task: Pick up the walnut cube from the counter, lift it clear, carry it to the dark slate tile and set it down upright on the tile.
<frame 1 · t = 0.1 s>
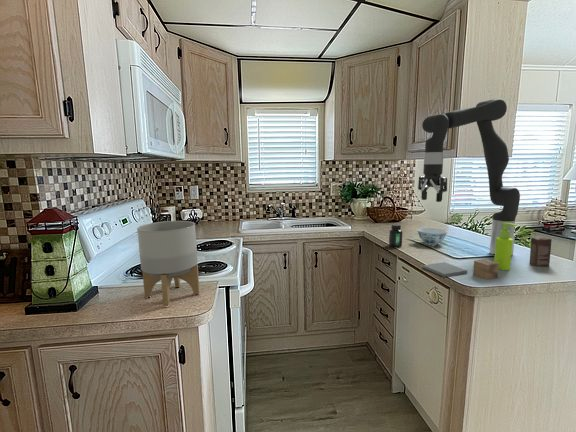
hand: (431, 200, 138), 29 cm above the countertop, fingers open, 8 cm apart
box: (538, 265, 140), on the countertop
walnut cube: (485, 276, 128), on the countertop
slate tile: (444, 270, 135), on the countertop
planter: (172, 296, 114), on the countertop
soap dispenser: (502, 268, 136), on the countertop
supplement bottle: (395, 246, 175), on the countertop
chinaware: (431, 244, 179), on the countertop
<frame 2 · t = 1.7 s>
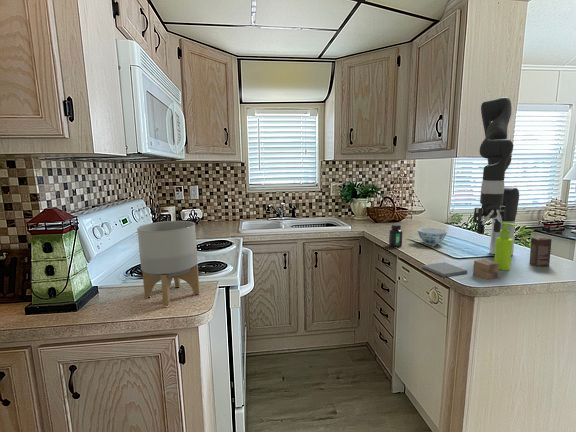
hand: (488, 232, 125), 18 cm above the countertop, fingers open, 8 cm apart
nothing on the countertop moved.
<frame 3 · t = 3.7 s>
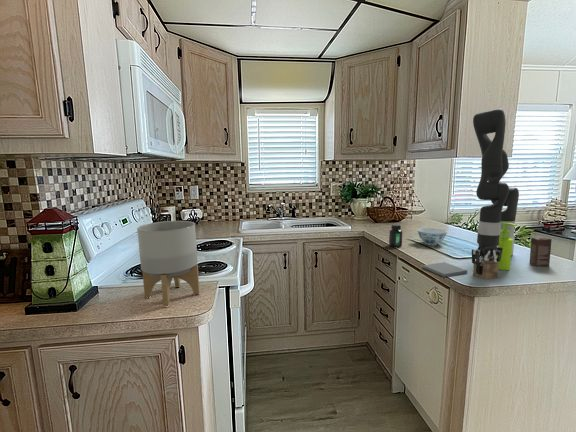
hand: (485, 273, 128), 1 cm above the countertop, fingers closed on walnut cube, 6 cm apart
walnut cube: (485, 275, 128), on the countertop, touching gripper
everything else where it was.
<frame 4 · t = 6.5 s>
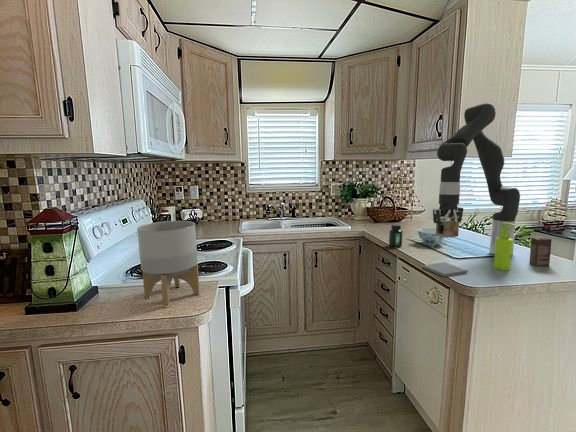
hand: (446, 232, 132), 17 cm above the countertop, fingers closed on walnut cube, 6 cm apart
walnut cube: (446, 235, 133), point 15 cm above the countertop, touching gripper
everything else where it was.
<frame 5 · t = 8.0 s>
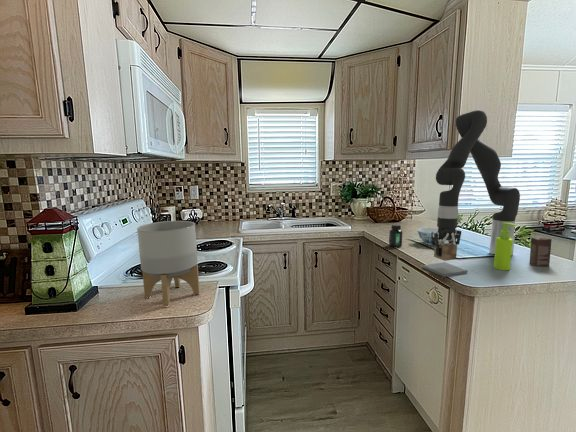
hand: (444, 255, 134), 7 cm above the countertop, fingers closed on walnut cube, 6 cm apart
walnut cube: (444, 257, 134), point 6 cm above the countertop, touching gripper
everything else where it was.
when the fingers open (4 cm above the countertop, at t = 9.3 s): walnut cube drops 1 cm, resting on slate tile.
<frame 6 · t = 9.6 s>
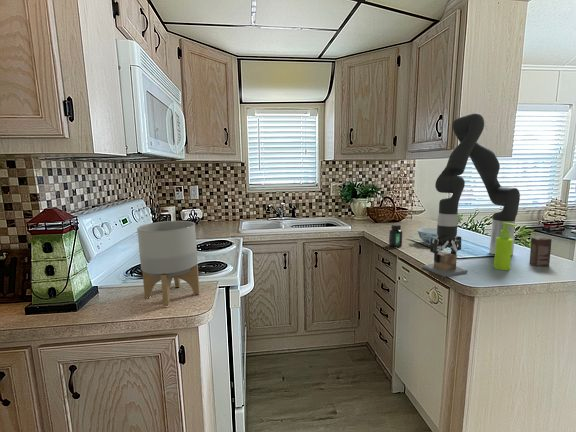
hand: (444, 261, 134), 4 cm above the countertop, fingers open, 8 cm apart
walnut cube: (444, 267, 135), point 1 cm above the countertop, touching slate tile
everything else where it was.
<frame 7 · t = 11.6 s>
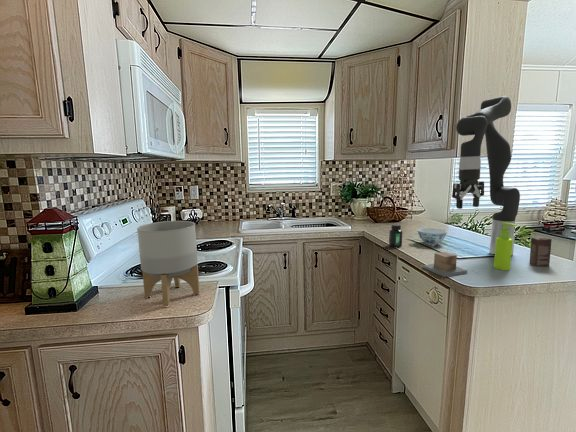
hand: (467, 207, 130), 27 cm above the countertop, fingers open, 8 cm apart
nothing on the countertop moved.
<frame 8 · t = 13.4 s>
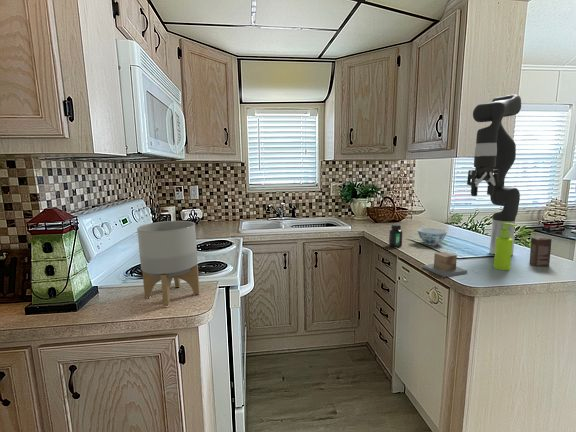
hand: (482, 195, 129), 32 cm above the countertop, fingers open, 8 cm apart
nothing on the countertop moved.
at the end: walnut cube inside the target area on the slate tile (0.1 cm from its centre), point 1.2 cm above the slate tile's base; walnut cube tilted 0°; the gripper is holding nothing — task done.
